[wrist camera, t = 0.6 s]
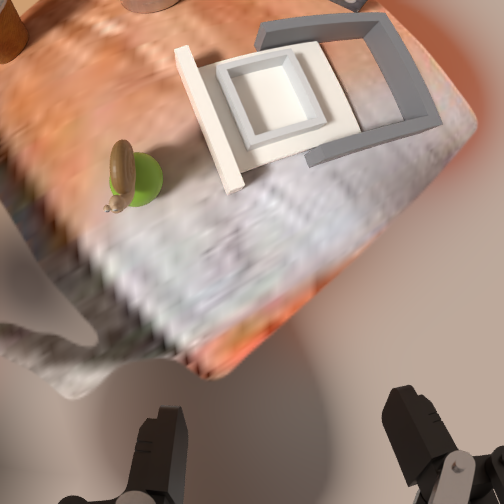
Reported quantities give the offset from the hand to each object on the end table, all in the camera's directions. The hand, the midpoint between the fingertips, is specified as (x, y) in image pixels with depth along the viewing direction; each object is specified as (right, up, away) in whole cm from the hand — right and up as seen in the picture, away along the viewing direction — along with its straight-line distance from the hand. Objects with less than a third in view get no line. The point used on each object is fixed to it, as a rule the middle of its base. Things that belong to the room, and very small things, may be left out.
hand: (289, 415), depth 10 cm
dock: (+9, +26, +24) cm, 37 cm away
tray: (+1, +23, +22) cm, 32 cm away
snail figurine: (-13, +13, +22) cm, 28 cm away
